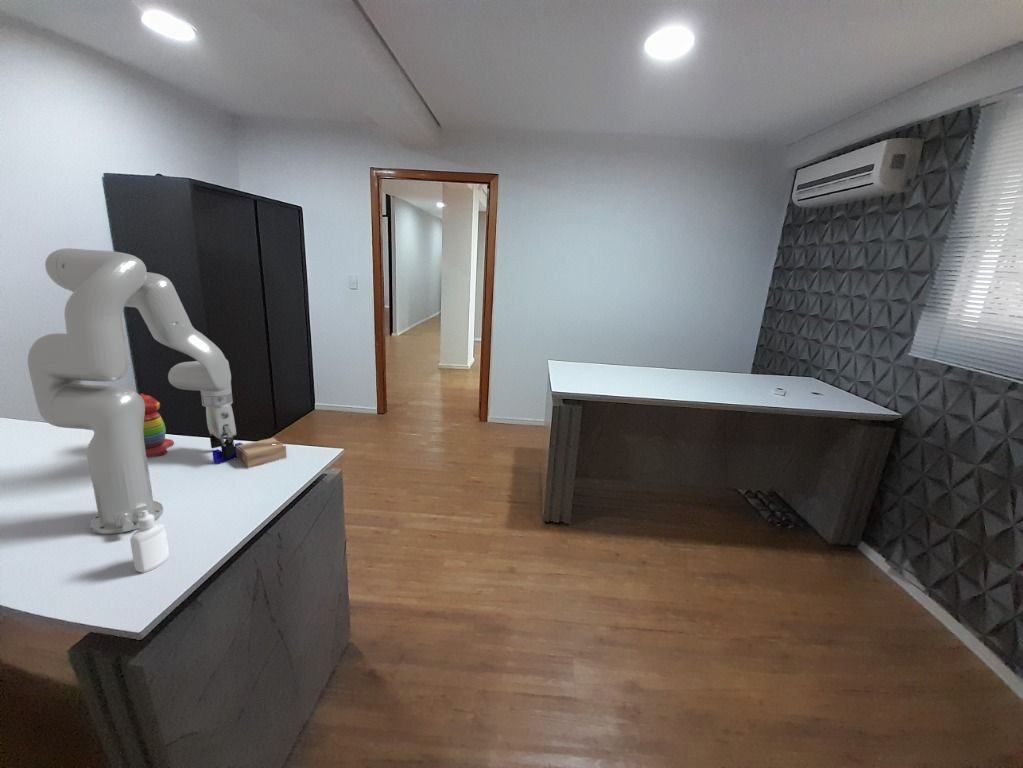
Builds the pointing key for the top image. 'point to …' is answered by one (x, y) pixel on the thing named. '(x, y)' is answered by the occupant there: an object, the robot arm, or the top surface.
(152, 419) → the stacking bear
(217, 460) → the cable holder
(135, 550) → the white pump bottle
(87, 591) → the top surface
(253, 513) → the top surface
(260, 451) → the plinth
